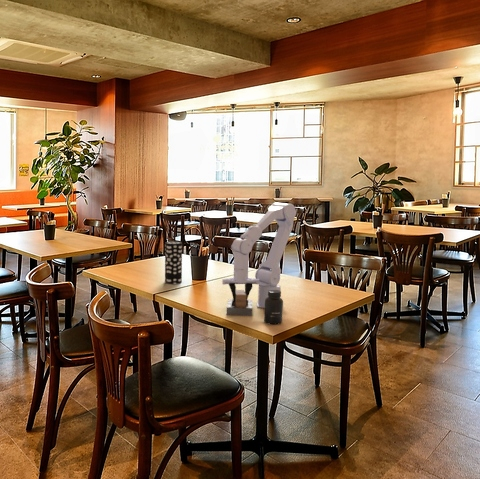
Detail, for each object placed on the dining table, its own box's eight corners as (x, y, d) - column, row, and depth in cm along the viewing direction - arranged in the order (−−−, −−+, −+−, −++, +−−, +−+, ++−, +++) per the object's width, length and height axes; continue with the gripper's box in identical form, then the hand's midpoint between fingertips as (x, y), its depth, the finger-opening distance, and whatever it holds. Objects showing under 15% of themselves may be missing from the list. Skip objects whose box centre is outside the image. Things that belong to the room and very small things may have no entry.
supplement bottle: (274, 326, 170) (276, 294, 168) (260, 322, 174) (261, 290, 173) (285, 322, 175) (287, 291, 173) (271, 318, 180) (272, 287, 178)
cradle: (252, 306, 194) (252, 299, 194) (251, 315, 182) (252, 308, 181) (228, 305, 194) (228, 298, 194) (226, 314, 182) (226, 307, 182)
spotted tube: (179, 279, 239) (180, 241, 236) (183, 283, 231) (183, 243, 228) (163, 280, 236) (163, 241, 233) (166, 284, 228) (166, 244, 226)
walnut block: (246, 309, 184) (246, 295, 183) (236, 309, 184) (236, 295, 183) (243, 303, 193) (243, 289, 192) (233, 303, 192) (233, 289, 192)
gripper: (257, 266, 190) (256, 298, 192) (222, 266, 189) (221, 299, 191) (260, 270, 184) (259, 303, 185) (223, 270, 182) (222, 303, 184)
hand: (240, 301), depth 188 cm, fingers closed on walnut block, 4 cm apart
